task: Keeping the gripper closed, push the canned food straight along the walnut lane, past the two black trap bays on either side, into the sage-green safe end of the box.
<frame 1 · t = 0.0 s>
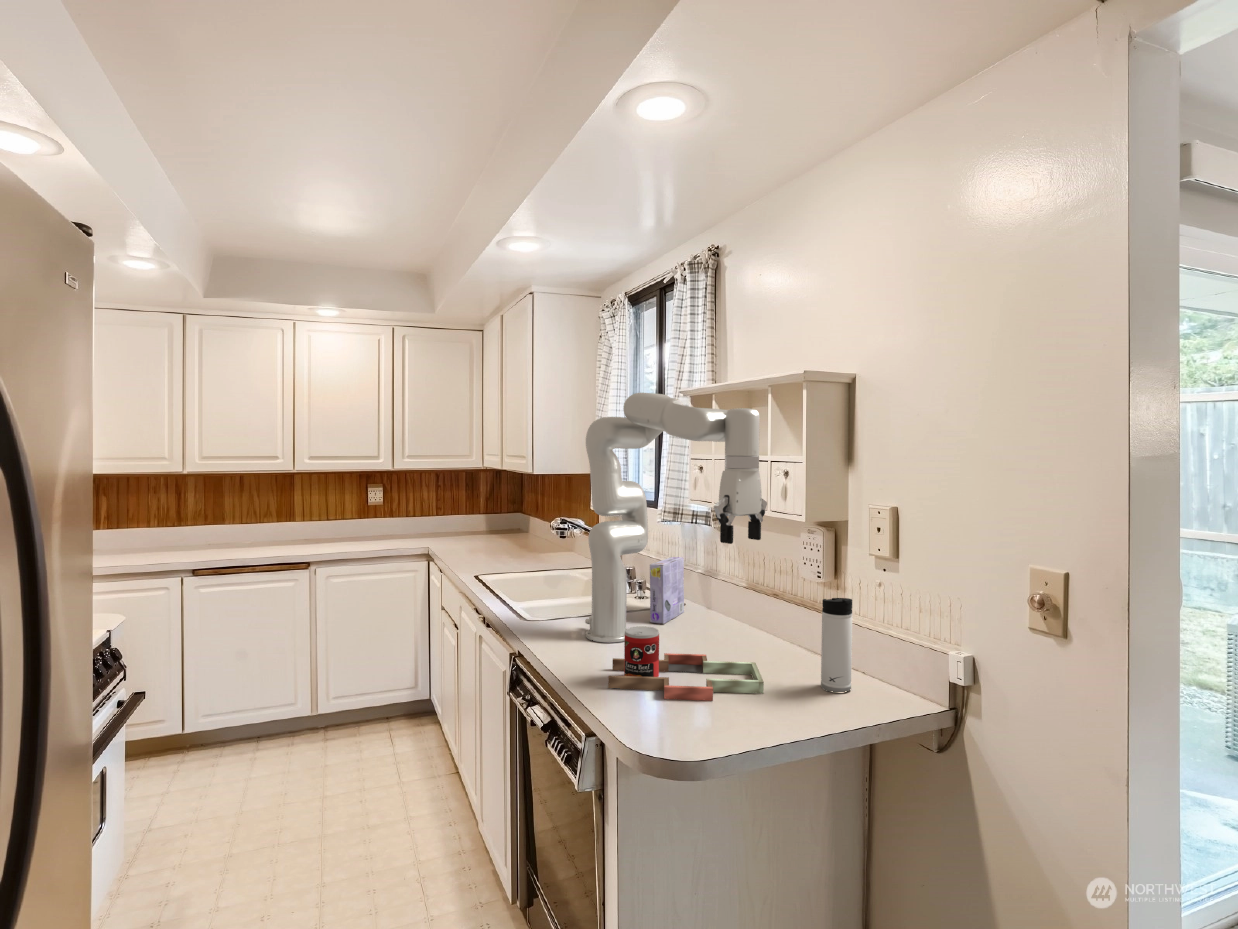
hand: (740, 541, 151), 31 cm above the countertop, tool pointing down, fingers open, 9 cm apart
cake pan box: (667, 618, 208), on the countertop
travel mug: (836, 689, 147), on the countertop
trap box: (682, 680, 151), on the countertop
canned food: (641, 680, 152), on the countertop
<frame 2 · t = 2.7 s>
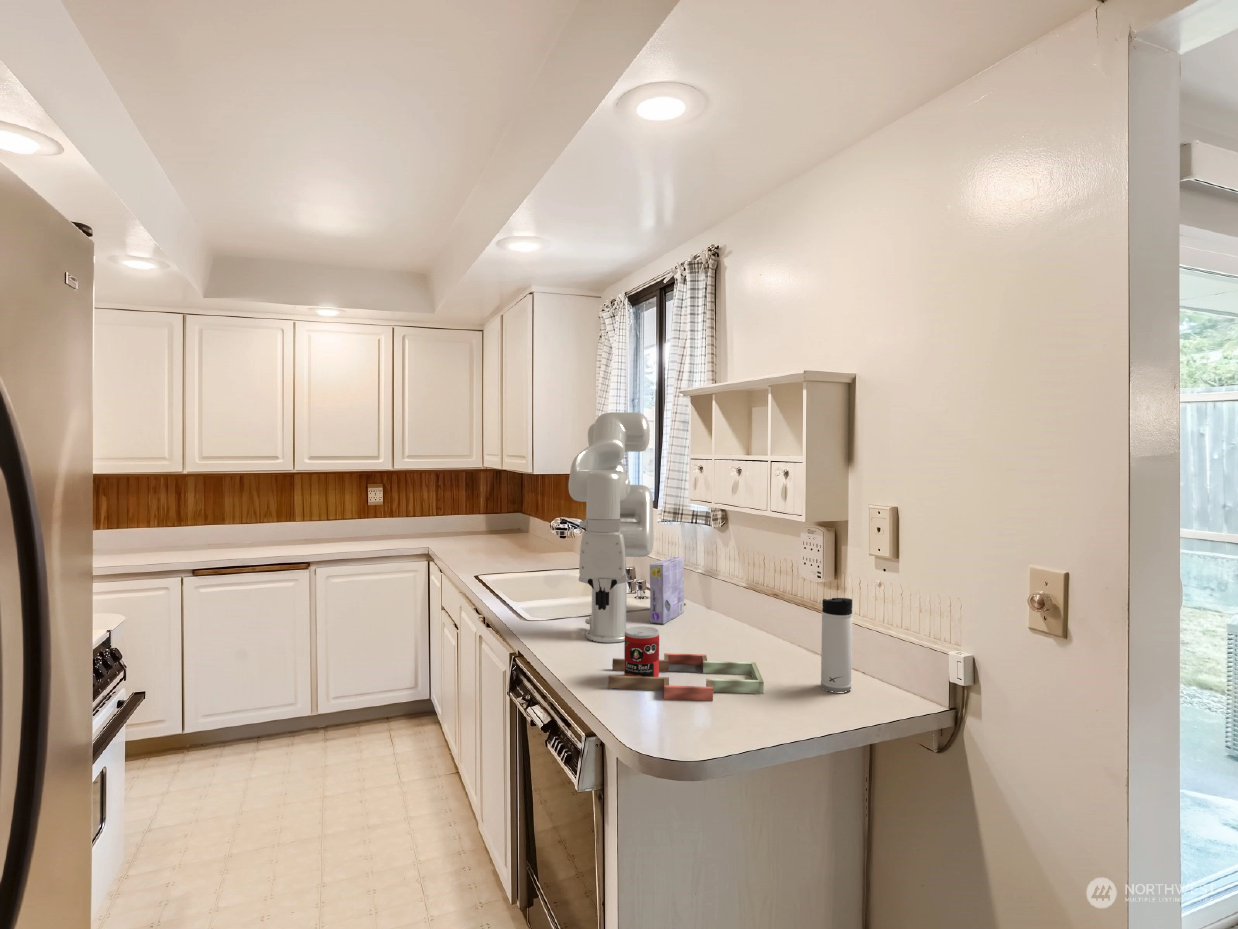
hand: (602, 608, 151), 16 cm above the countertop, tool pointing down, fingers closed
nothing on the countertop moved.
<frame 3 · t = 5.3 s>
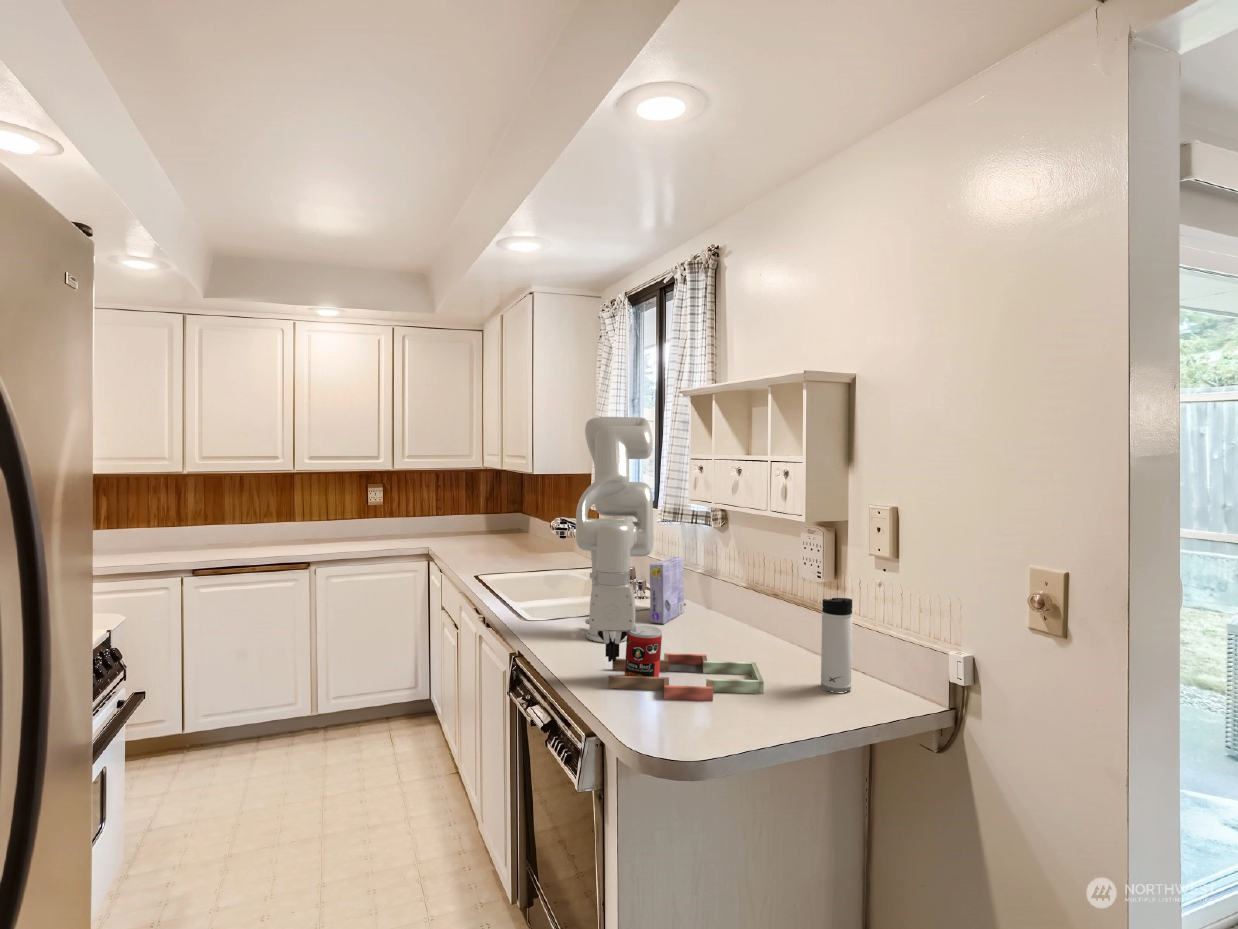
hand: (612, 659, 152), 4 cm above the countertop, tool pointing down, fingers closed
canned food: (641, 679, 152), on the countertop, touching gripper
everything else where it was.
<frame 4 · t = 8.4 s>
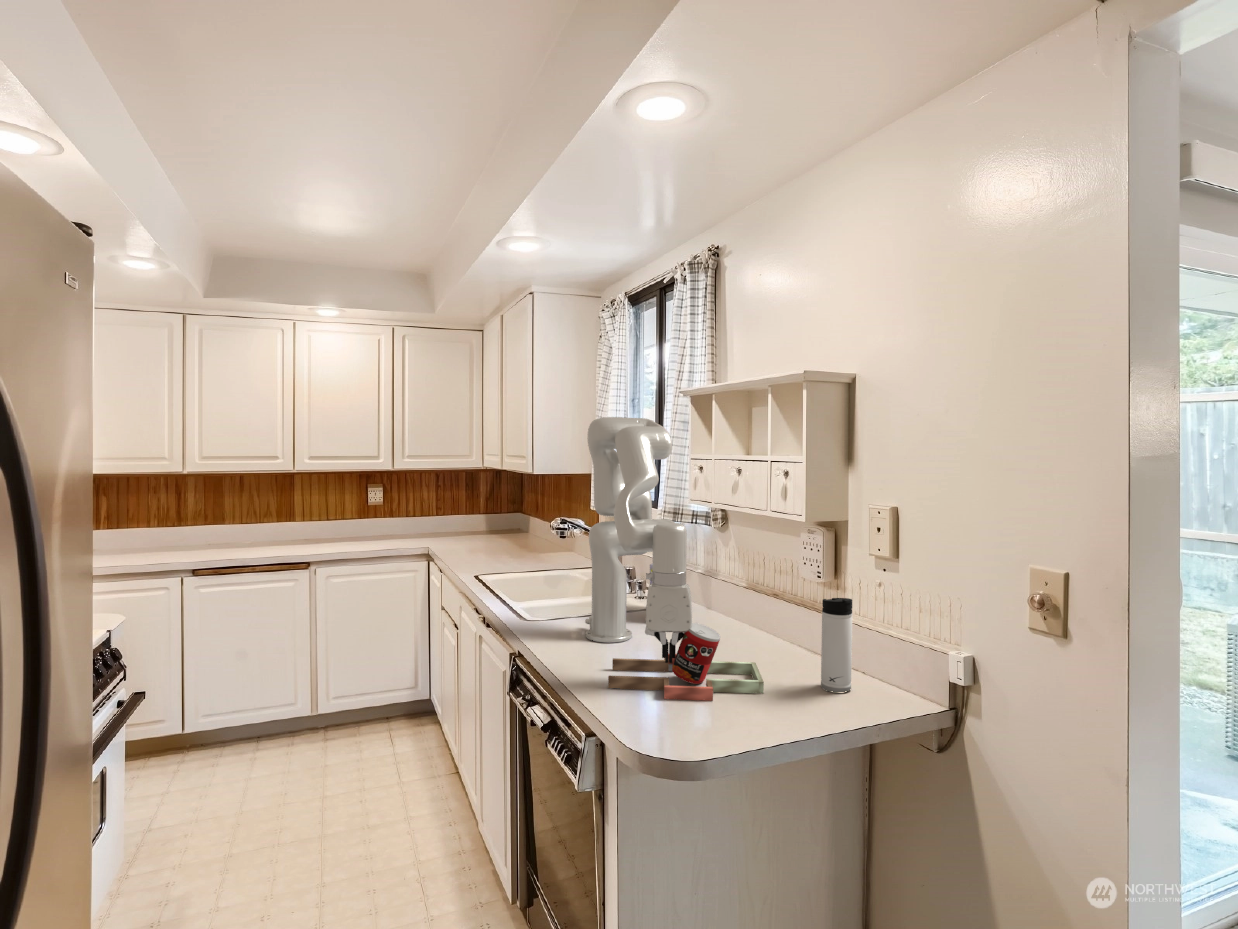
hand: (668, 661, 151), 4 cm above the countertop, tool pointing down, fingers closed
canned food: (687, 676, 151), point 1 cm above the countertop, touching gripper
everything else where it was.
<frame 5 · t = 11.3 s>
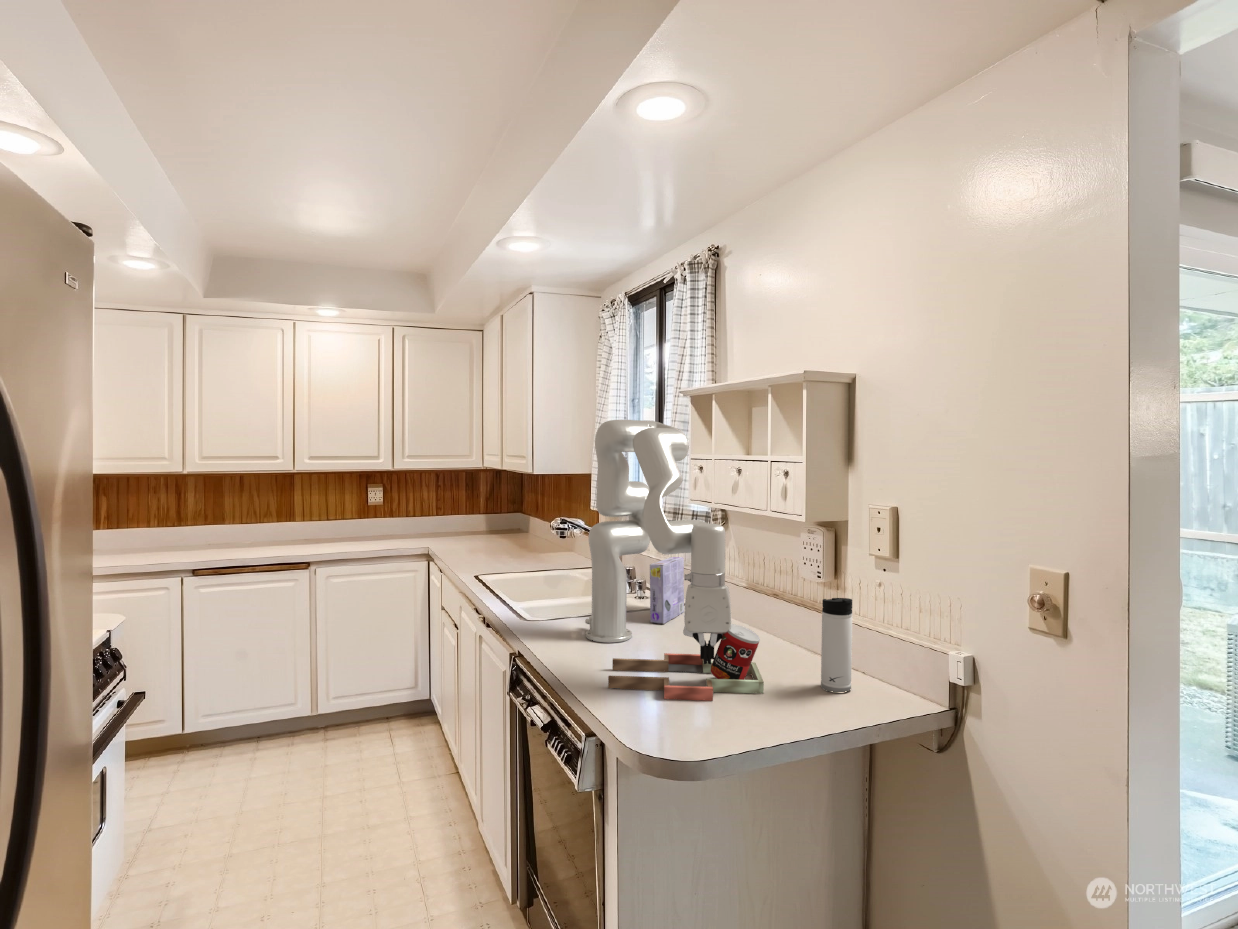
hand: (707, 662, 150), 4 cm above the countertop, tool pointing down, fingers closed
canned food: (725, 677, 150), point 1 cm above the countertop, touching gripper
everything else where it was.
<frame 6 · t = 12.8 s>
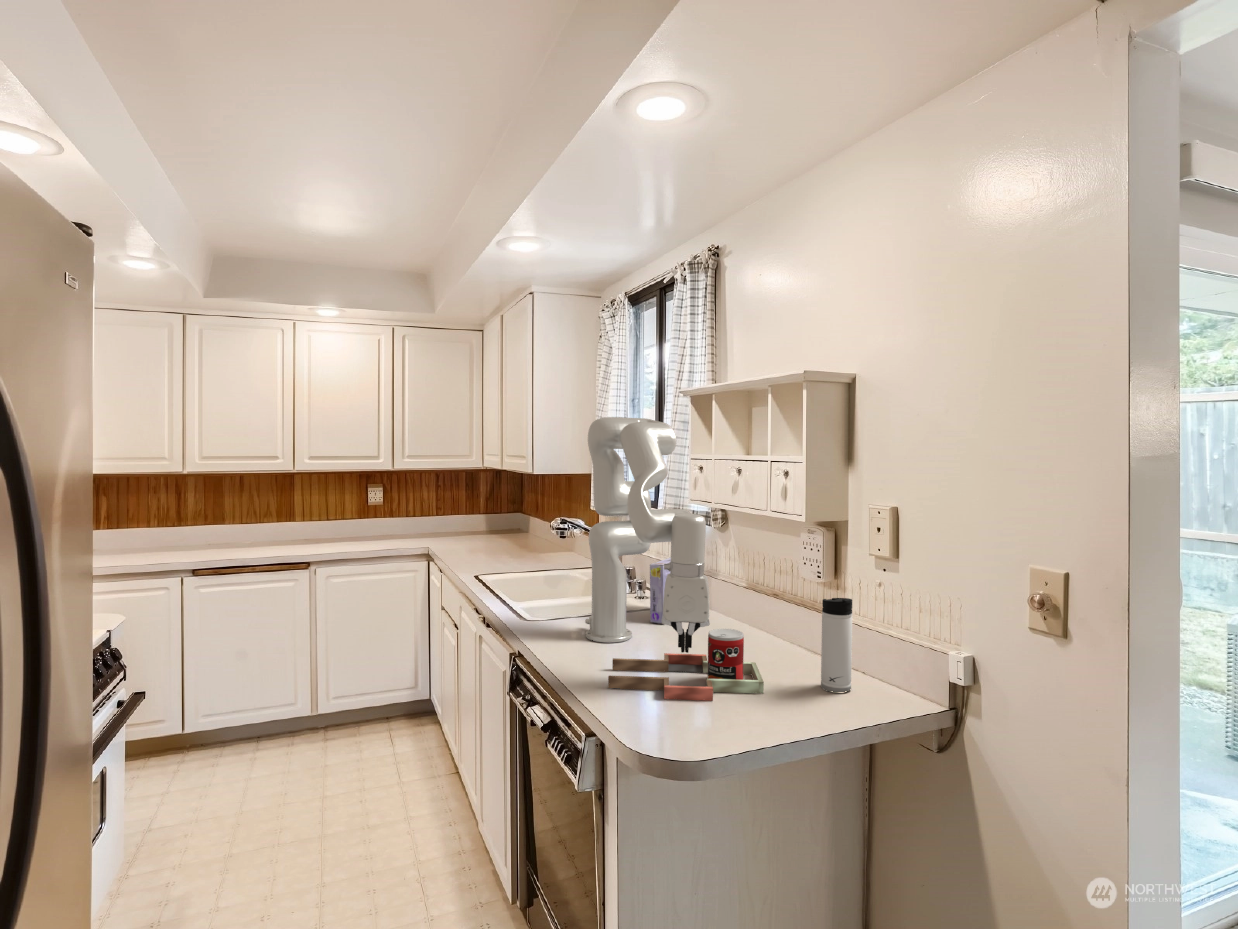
hand: (684, 650, 152), 7 cm above the countertop, tool pointing down, fingers closed
canned food: (725, 683, 150), on the countertop
everything else where it was.
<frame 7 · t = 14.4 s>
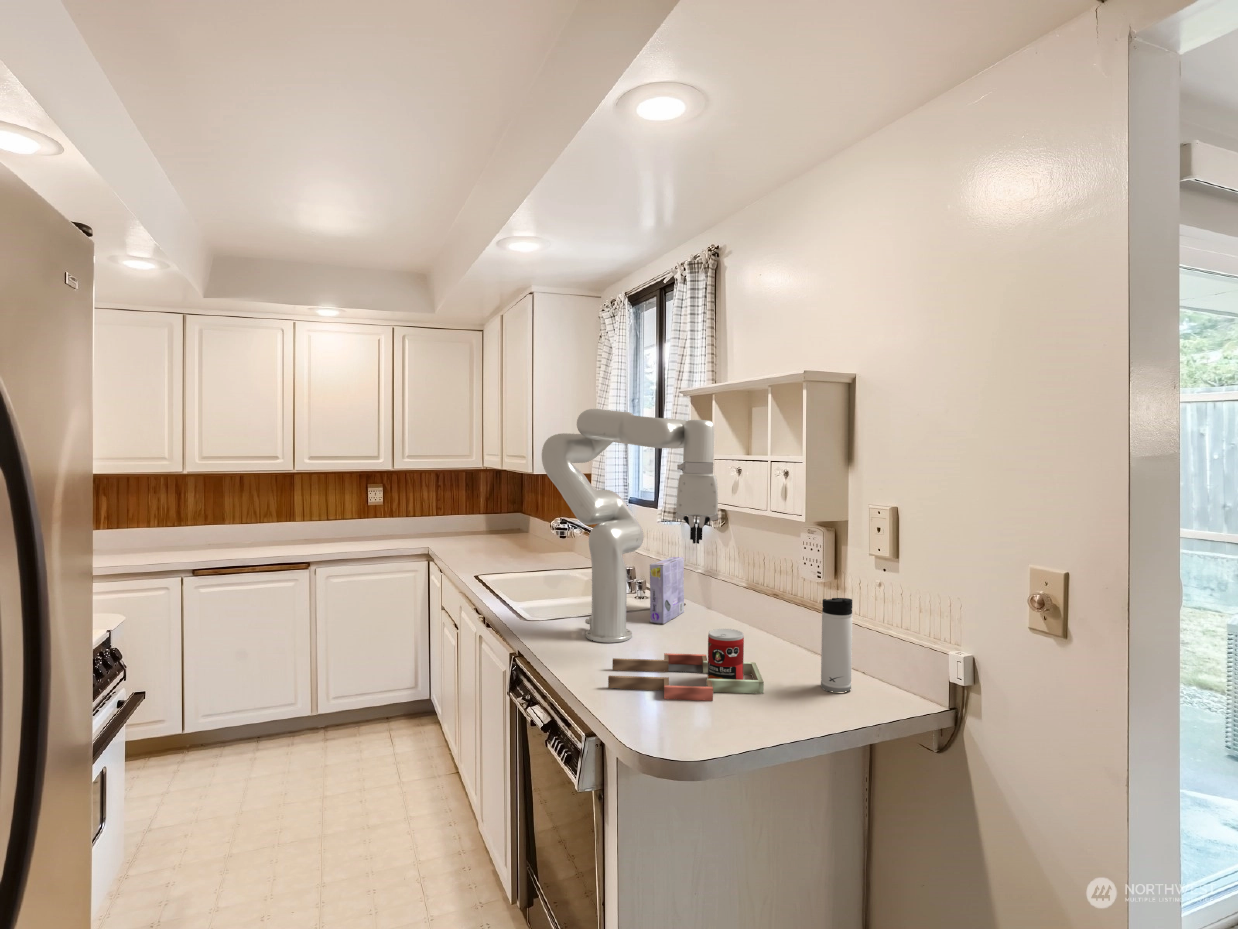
hand: (695, 542, 169), 28 cm above the countertop, tool pointing down, fingers closed
nothing on the countertop moved.
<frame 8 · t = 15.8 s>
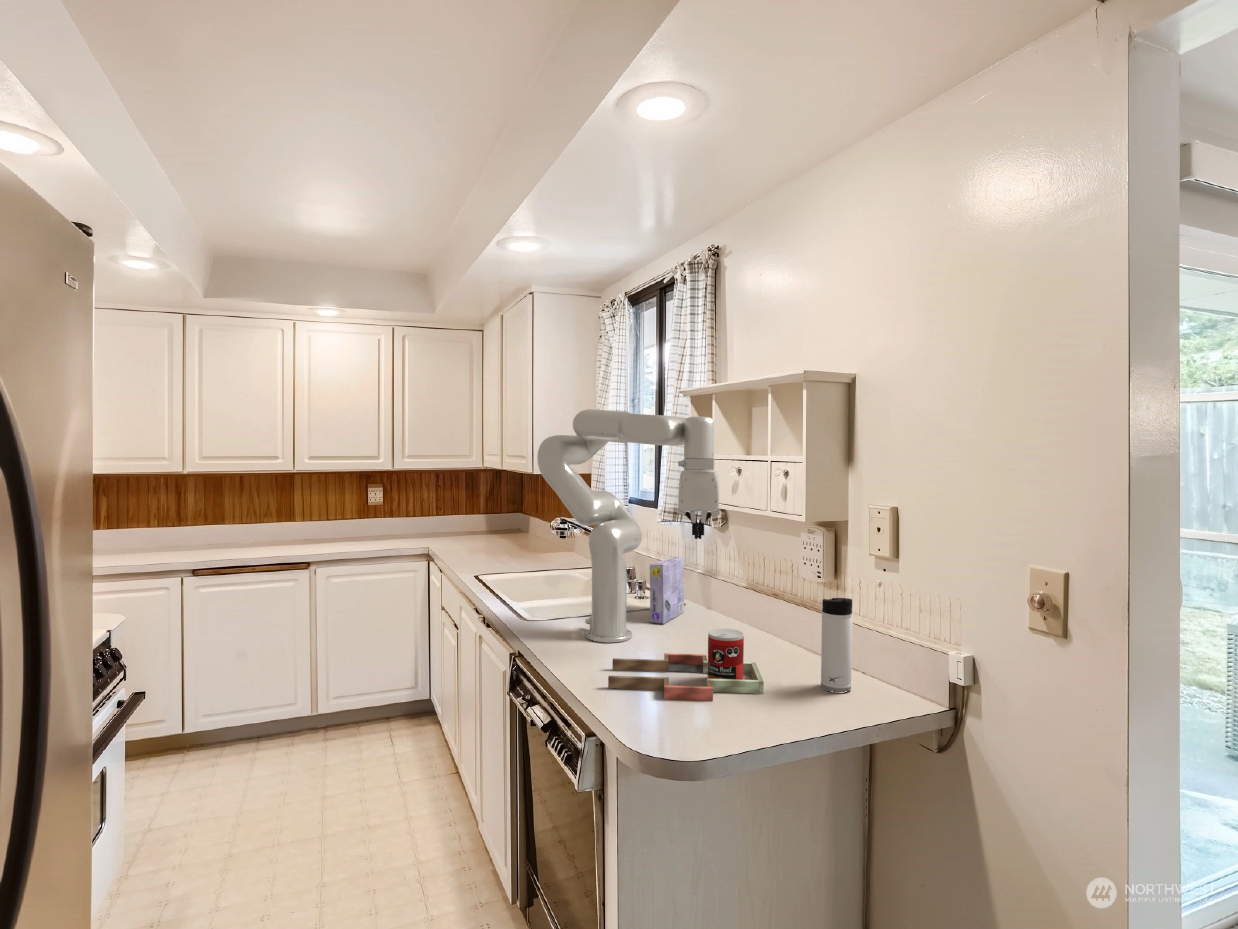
hand: (697, 538, 171), 29 cm above the countertop, tool pointing down, fingers closed
nothing on the countertop moved.
at the end: canned food inside the target area on the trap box (1.1 cm from its centre), point 0.0 cm above the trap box's base; canned food tilted 0° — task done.
